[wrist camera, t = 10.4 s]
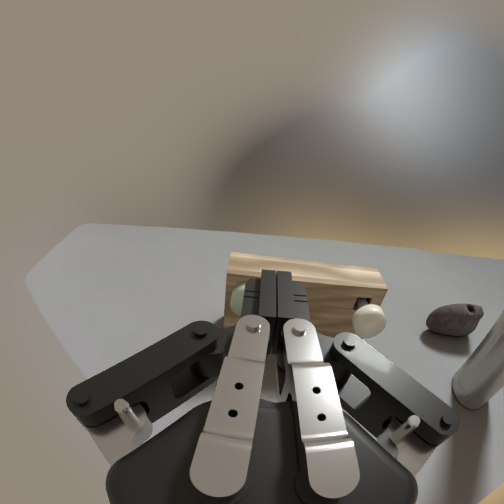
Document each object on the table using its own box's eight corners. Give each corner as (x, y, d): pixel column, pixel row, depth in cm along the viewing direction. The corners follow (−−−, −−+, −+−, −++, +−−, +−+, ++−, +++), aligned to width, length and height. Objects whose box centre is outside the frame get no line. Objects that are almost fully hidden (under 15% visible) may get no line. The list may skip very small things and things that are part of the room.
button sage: (263, 319, 35) (268, 294, 32) (229, 316, 35) (231, 290, 32) (263, 291, 40) (267, 267, 37) (233, 288, 39) (235, 263, 37)
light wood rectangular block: (358, 345, 40) (388, 288, 34) (223, 336, 40) (226, 273, 34) (352, 324, 45) (377, 268, 38) (226, 313, 44) (231, 252, 38)
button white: (378, 338, 33) (391, 315, 31) (350, 338, 33) (362, 314, 31) (368, 310, 38) (378, 287, 36) (342, 309, 38) (351, 285, 36)
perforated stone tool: (423, 338, 42) (441, 311, 38) (417, 319, 47) (432, 293, 43) (473, 341, 41) (490, 317, 37) (465, 325, 45) (481, 301, 42)
